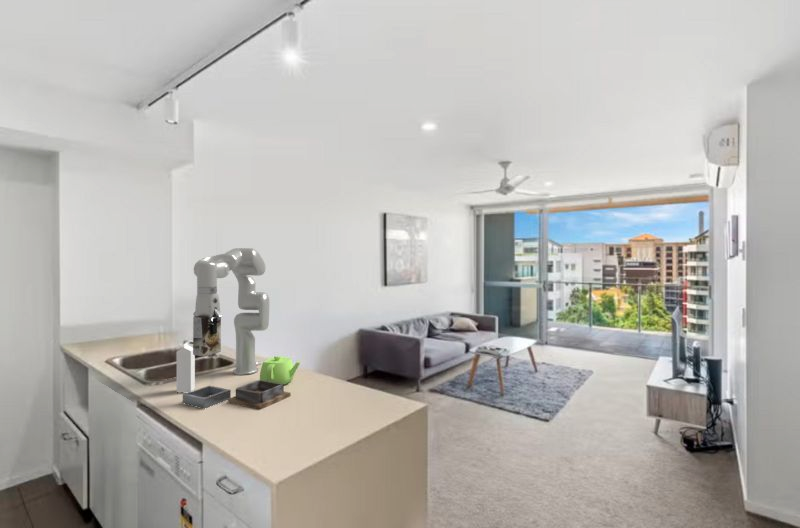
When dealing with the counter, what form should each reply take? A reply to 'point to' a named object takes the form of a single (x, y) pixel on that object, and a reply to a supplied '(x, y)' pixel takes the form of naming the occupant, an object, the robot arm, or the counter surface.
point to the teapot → (278, 370)
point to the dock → (259, 394)
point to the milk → (185, 369)
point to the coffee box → (205, 337)
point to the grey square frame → (198, 400)
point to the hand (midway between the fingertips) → (207, 332)
